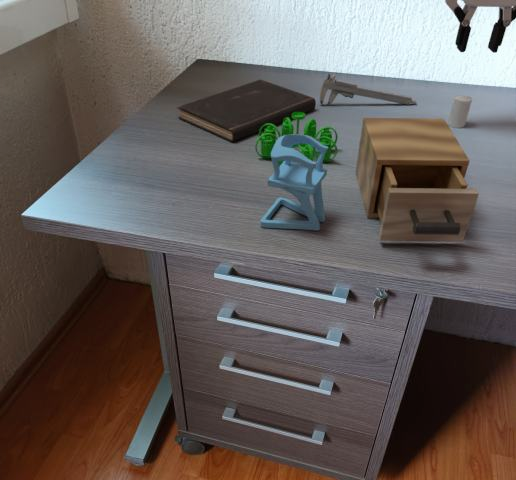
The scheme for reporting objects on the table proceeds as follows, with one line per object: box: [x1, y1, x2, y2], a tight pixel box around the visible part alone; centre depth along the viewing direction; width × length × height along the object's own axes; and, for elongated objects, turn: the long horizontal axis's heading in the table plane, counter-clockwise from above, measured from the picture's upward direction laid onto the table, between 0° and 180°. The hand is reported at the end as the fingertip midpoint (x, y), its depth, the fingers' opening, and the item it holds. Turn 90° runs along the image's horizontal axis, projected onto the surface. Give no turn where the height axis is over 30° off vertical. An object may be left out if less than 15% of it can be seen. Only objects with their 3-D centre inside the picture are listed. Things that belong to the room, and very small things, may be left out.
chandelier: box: [254, 112, 338, 167], centre depth 91 cm, size 15×15×7 cm
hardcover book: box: [177, 79, 317, 143], centre depth 105 cm, size 16×23×2 cm
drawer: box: [375, 165, 480, 243], centre depth 72 cm, size 18×11×7 cm, turn 179°
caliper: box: [319, 72, 418, 107], centre depth 108 cm, size 20×1×6 cm, turn 93°
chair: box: [260, 133, 328, 231], centre depth 73 cm, size 8×8×12 cm
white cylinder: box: [447, 94, 473, 129], centre depth 101 cm, size 3×3×5 cm
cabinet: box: [355, 117, 471, 219], centre depth 80 cm, size 15×13×9 cm
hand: (476, 49), depth 93 cm, fingers open, 4 cm apart
